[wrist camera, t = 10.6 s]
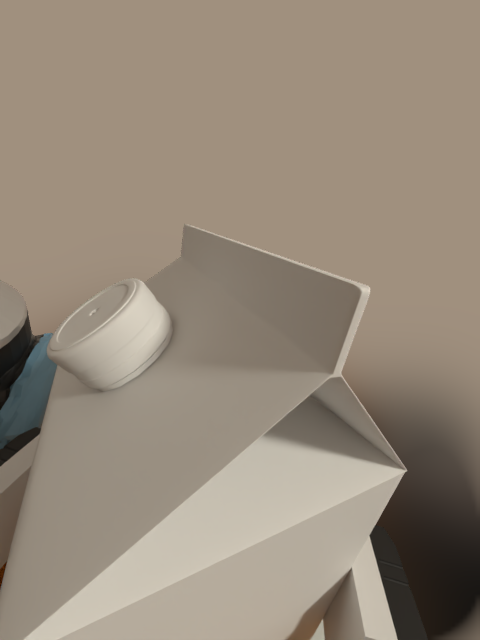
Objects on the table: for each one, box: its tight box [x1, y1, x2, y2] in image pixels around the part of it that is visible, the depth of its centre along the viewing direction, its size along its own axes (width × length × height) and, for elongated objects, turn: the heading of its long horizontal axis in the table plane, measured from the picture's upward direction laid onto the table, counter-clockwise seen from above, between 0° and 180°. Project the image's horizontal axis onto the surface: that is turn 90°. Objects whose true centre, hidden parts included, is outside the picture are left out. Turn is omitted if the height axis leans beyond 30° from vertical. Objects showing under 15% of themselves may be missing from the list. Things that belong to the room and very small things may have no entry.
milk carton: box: [0, 224, 407, 640], centre depth 9 cm, size 7×7×19 cm
